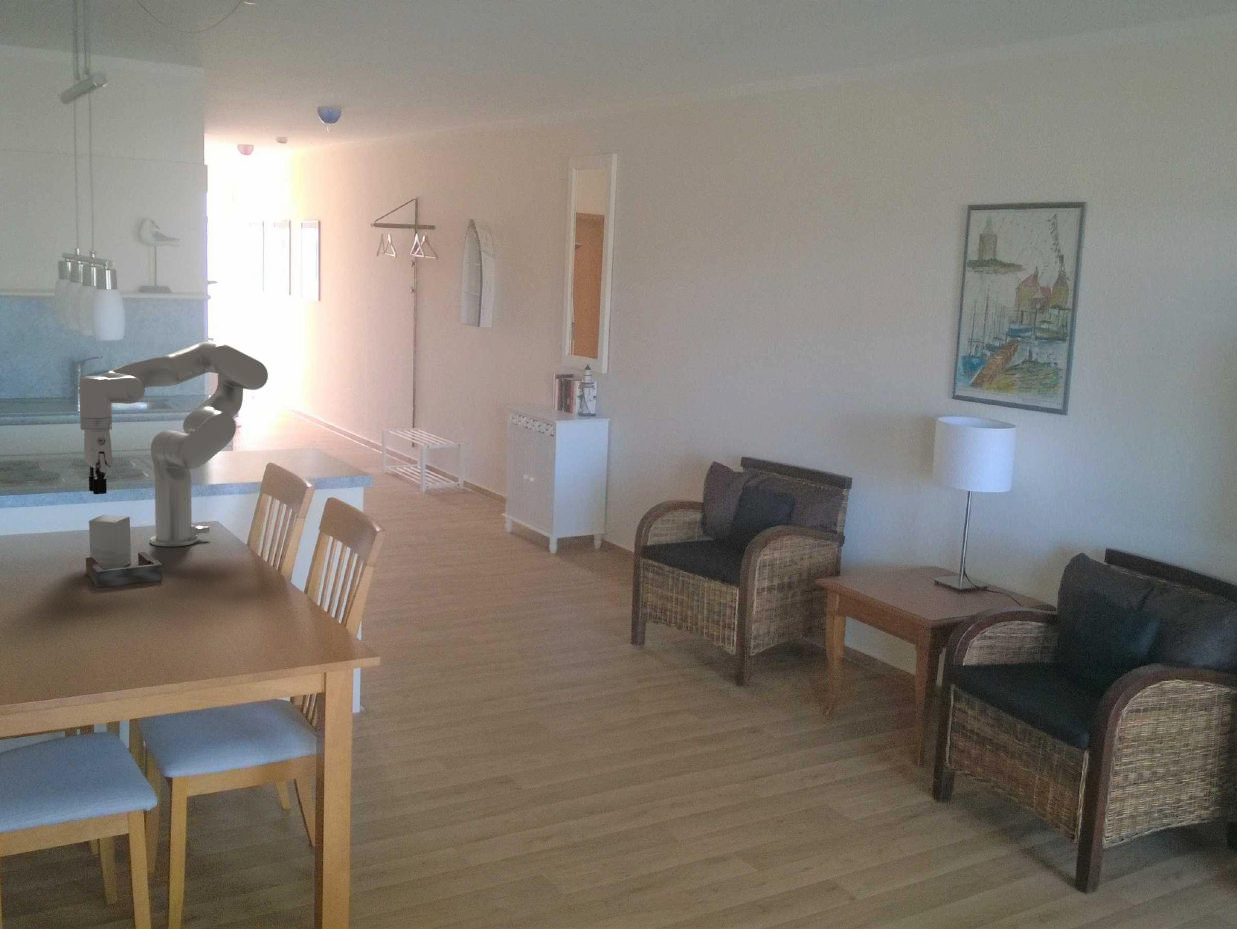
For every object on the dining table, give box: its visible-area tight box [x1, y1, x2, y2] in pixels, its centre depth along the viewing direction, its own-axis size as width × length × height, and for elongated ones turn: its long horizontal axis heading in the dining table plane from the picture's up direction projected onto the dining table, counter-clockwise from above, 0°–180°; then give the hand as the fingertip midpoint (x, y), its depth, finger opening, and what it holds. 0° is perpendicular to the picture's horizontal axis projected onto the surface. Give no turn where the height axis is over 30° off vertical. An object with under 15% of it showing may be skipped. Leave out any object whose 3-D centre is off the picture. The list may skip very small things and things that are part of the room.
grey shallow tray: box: [85, 551, 164, 588], centre depth 281 cm, size 15×14×4 cm
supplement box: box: [88, 514, 132, 570], centre depth 290 cm, size 7×7×13 cm
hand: (97, 491), depth 297 cm, fingers open, 3 cm apart
